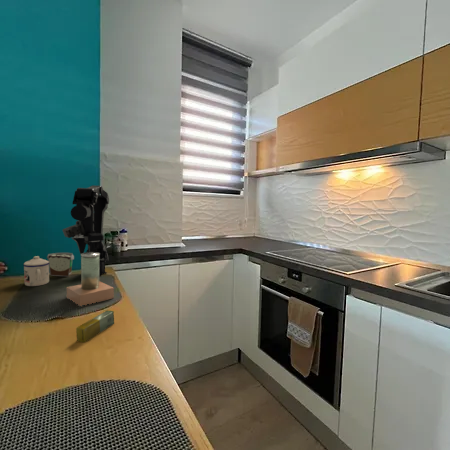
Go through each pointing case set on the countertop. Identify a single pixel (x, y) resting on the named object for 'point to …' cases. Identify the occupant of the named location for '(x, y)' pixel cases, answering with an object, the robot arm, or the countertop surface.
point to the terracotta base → (90, 294)
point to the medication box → (95, 326)
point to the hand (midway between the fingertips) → (86, 255)
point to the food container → (60, 264)
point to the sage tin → (90, 270)
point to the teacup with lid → (36, 272)
